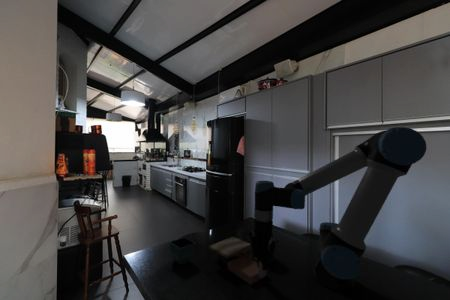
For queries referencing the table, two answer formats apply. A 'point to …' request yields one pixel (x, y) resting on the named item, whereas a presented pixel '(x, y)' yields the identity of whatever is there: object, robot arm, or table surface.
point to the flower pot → (182, 250)
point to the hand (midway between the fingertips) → (261, 276)
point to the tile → (245, 269)
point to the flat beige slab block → (231, 248)
